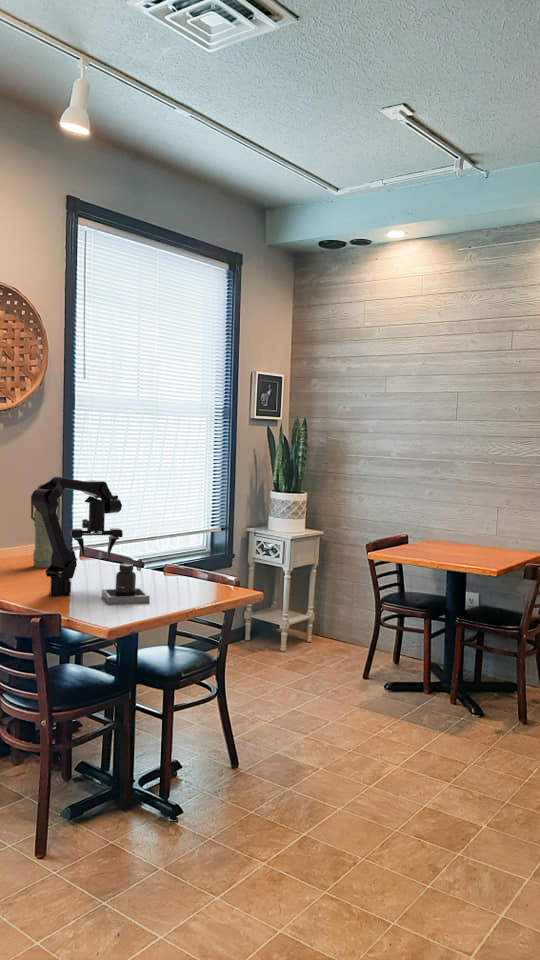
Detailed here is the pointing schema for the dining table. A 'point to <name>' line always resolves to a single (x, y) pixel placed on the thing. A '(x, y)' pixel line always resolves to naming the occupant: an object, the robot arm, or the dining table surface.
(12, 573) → the dining table surface
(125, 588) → the supplement bottle
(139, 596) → the tray
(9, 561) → the dining table surface
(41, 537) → the thermos
